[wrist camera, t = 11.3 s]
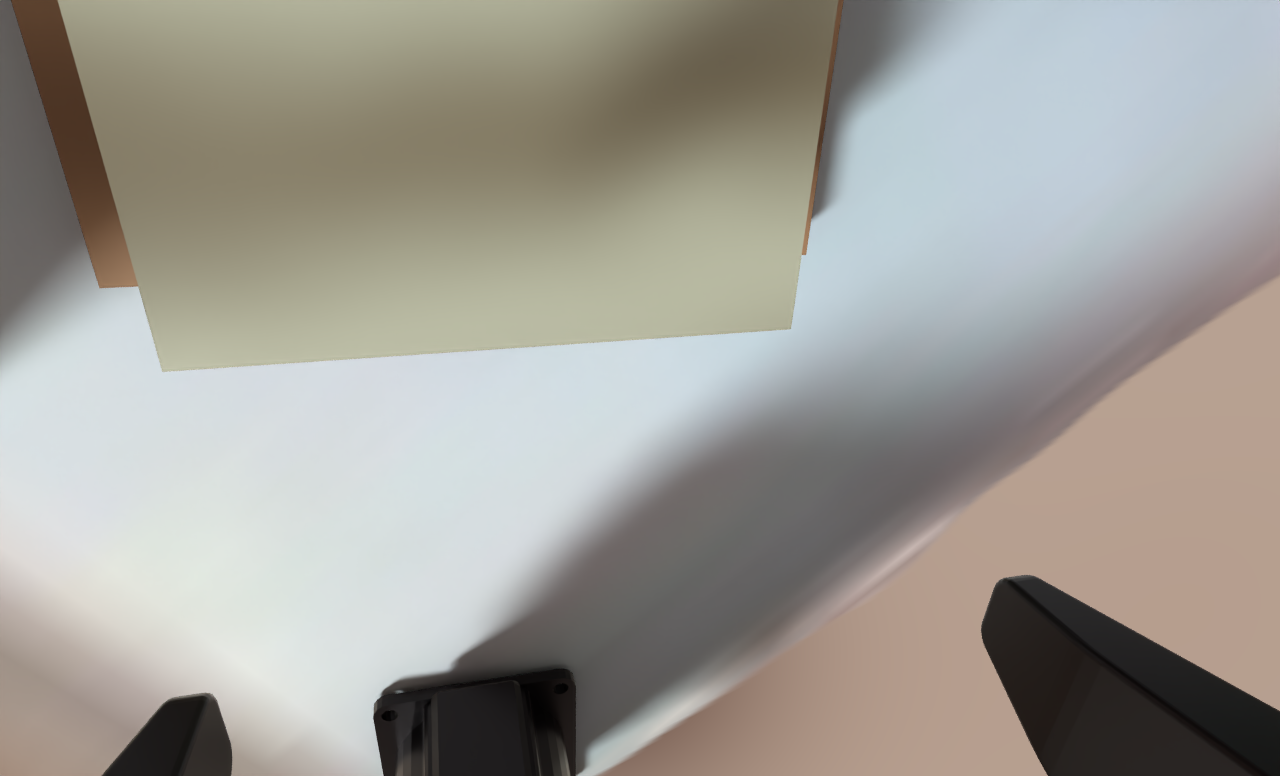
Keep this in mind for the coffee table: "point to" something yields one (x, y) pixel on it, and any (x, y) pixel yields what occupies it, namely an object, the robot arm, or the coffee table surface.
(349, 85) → the port plate
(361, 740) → the coffee table surface
